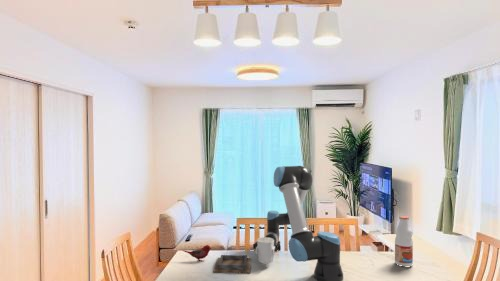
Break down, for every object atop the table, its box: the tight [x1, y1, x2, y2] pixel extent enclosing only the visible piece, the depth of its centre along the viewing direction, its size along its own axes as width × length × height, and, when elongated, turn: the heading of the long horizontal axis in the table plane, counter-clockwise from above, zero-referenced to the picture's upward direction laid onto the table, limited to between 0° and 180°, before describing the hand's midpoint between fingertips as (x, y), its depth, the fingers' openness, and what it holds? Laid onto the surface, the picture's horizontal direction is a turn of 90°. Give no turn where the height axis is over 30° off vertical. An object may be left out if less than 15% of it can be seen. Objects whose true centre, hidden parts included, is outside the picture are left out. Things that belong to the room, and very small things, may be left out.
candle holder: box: [256, 236, 274, 264], centre depth 190 cm, size 10×10×12 cm
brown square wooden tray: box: [212, 254, 252, 274], centre depth 190 cm, size 20×20×4 cm
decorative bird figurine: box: [182, 244, 212, 263], centre depth 197 cm, size 3×18×10 cm, turn 83°
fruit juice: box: [394, 215, 414, 266], centre depth 192 cm, size 9×9×28 cm
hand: (264, 251), depth 185 cm, fingers closed on candle holder, 9 cm apart
